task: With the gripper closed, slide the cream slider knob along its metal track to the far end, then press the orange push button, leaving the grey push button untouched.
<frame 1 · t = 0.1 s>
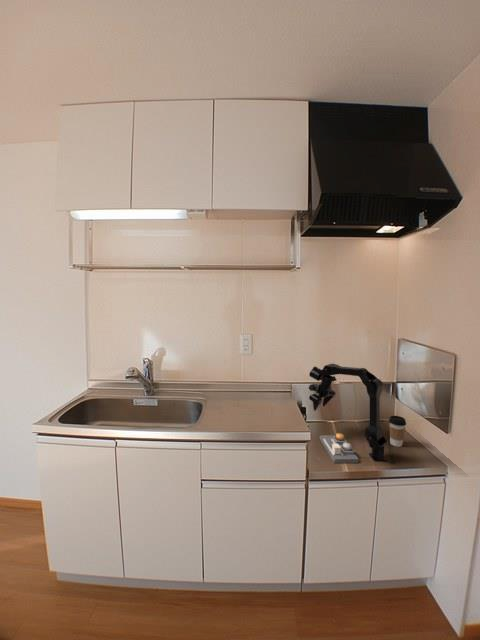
hand: (319, 408, 176), 15 cm above the countertop, tool pointing down, fingers open, 9 cm apart
slider knob: (336, 448, 153), point 4 cm above the countertop, slide at 0.0 cm
orange button: (339, 436, 164), point 5 cm above the countertop, slide at 0.0 cm
grey button: (347, 446, 154), point 5 cm above the countertop, slide at 0.0 cm
coffee cup: (396, 444, 166), on the countertop
control panel: (337, 449, 160), on the countertop
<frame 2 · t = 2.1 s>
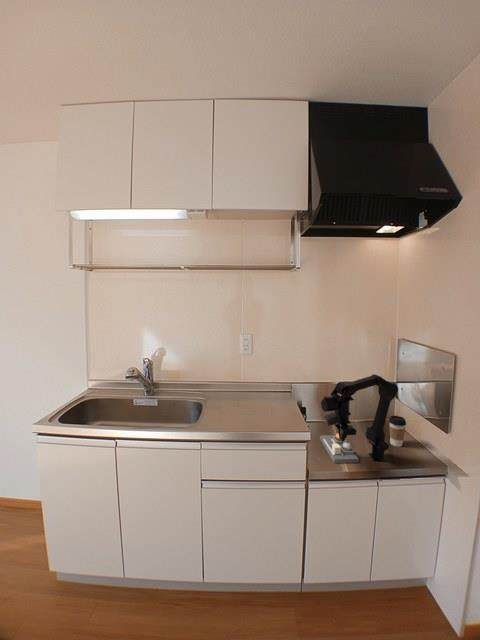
hand: (341, 440, 146), 12 cm above the countertop, tool pointing down, fingers closed
nothing on the countertop moved.
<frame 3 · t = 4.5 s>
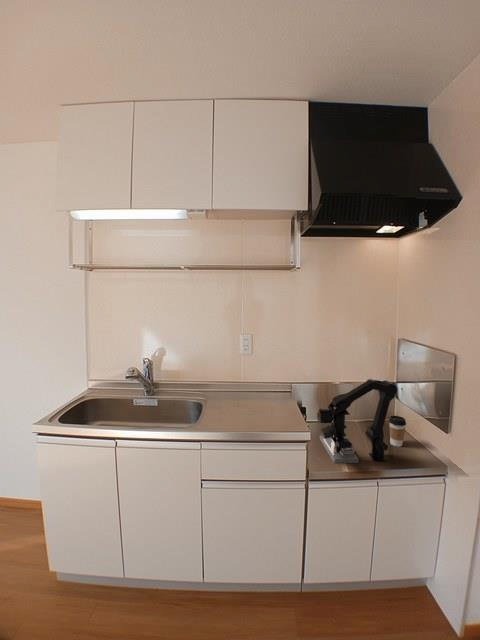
hand: (337, 452, 151), 3 cm above the countertop, tool pointing down, fingers closed
slider knob: (335, 447, 155), point 4 cm above the countertop, slide at 1.6 cm, touching gripper
everything else where it was.
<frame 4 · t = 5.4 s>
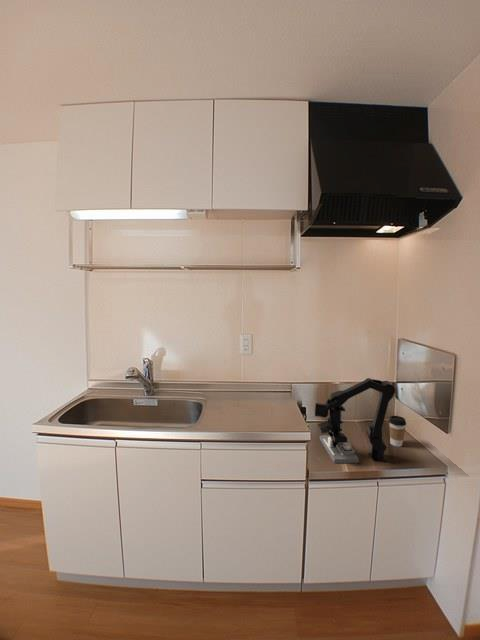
hand: (334, 446, 157), 3 cm above the countertop, tool pointing down, fingers closed
slider knob: (331, 442, 160), point 4 cm above the countertop, slide at 6.8 cm, touching gripper
everything else where it was.
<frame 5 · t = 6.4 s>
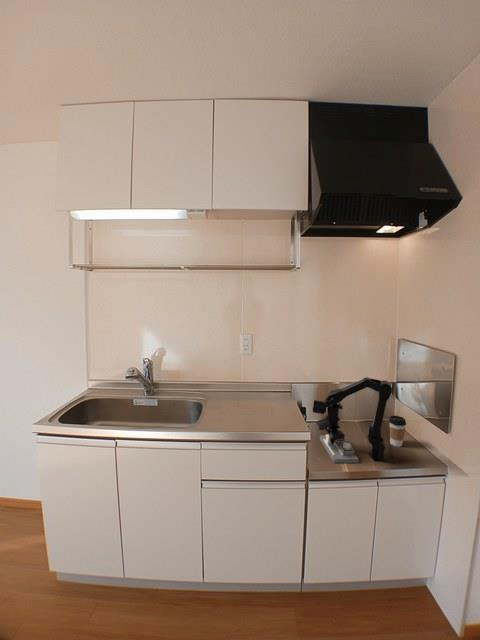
hand: (332, 443, 160), 3 cm above the countertop, tool pointing down, fingers closed
slider knob: (329, 439, 163), point 4 cm above the countertop, slide at 9.9 cm, touching gripper
everything else where it was.
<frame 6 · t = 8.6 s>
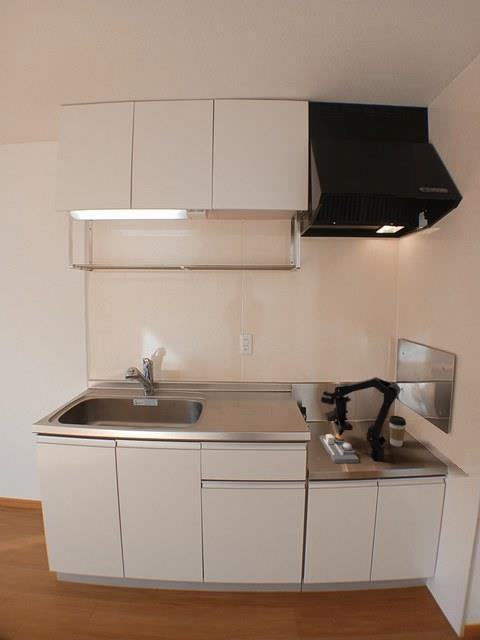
hand: (340, 435, 164), 6 cm above the countertop, tool pointing down, fingers closed, pressing on orange button
slider knob: (329, 439, 163), point 4 cm above the countertop, slide at 10.0 cm
orange button: (339, 436, 164), point 5 cm above the countertop, slide at 0.1 cm, touching gripper
everything else where it was.
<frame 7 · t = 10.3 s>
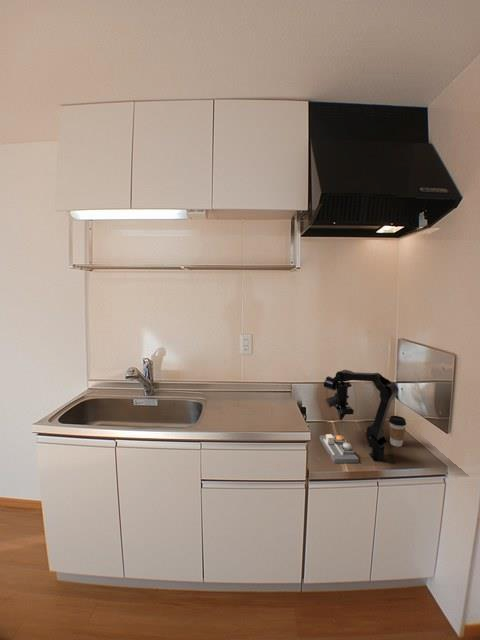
hand: (340, 419, 168), 12 cm above the countertop, tool pointing down, fingers closed
orange button: (339, 438, 165), point 3 cm above the countertop, slide at 1.2 cm
everything else where it was.
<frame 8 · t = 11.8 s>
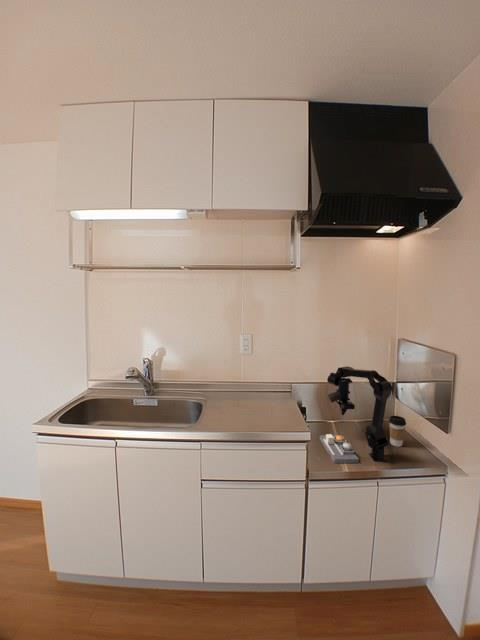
hand: (342, 415, 173), 13 cm above the countertop, tool pointing down, fingers closed
nothing on the countertop moved.
at the end: slider knob slide at 10.0 cm; orange button slide at 1.2 cm; grey button slide at 0.0 cm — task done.
